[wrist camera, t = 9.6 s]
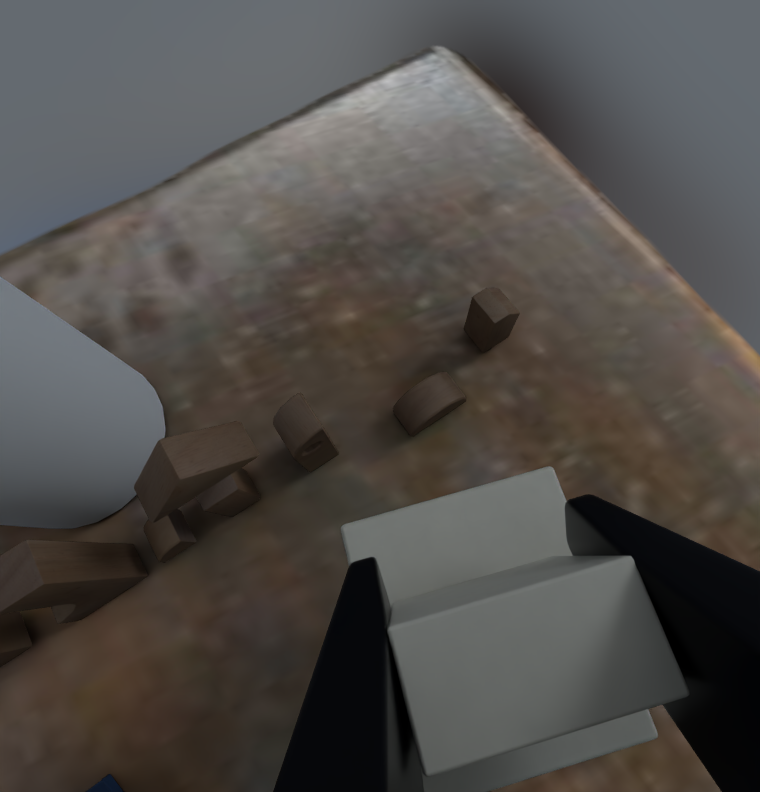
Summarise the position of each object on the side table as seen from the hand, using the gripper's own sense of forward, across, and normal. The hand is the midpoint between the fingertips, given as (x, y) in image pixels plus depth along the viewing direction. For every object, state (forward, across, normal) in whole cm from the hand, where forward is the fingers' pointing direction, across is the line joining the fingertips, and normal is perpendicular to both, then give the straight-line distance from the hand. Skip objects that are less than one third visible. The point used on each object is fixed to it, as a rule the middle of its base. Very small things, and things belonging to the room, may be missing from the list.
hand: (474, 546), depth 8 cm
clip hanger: (+4, 0, +6) cm, 7 cm away
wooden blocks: (+12, +8, +7) cm, 16 cm away
